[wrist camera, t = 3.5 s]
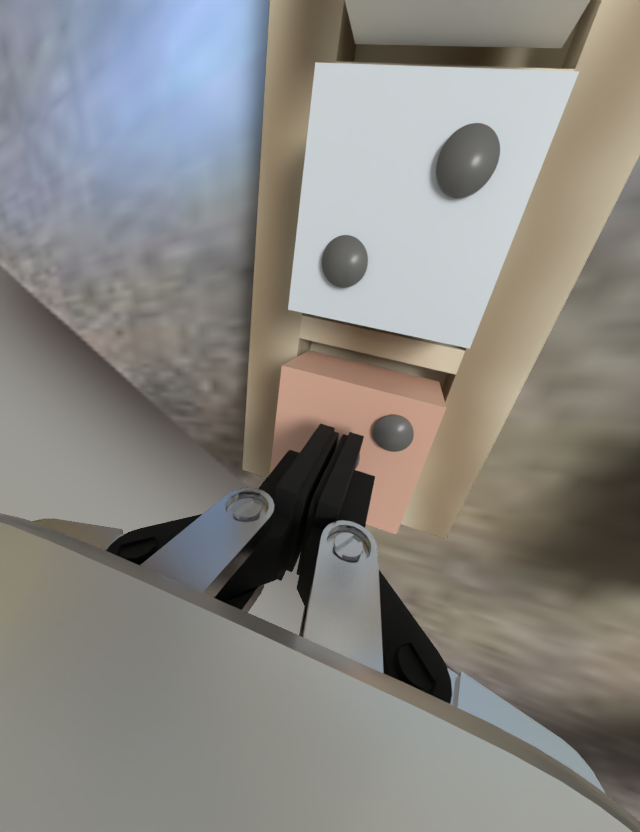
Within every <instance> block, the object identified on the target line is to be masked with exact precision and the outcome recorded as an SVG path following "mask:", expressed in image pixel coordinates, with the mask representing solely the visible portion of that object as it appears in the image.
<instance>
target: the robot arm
mask: <svg viewBox="0 0 640 832" xmlns="http://www.w3.org/2000/svg"><path fill="white" fill-rule="evenodd" d="M334 430H335V428H334V427H331V426H327V425H324V424H320V425H319V426H318V427H317V429H316V430H315V432H314V433H313V435H312V436H311V437H310V439H309V440H308V442H307V443H306V445H305V446H304V447H303V449H302V450H301V452H300V453H299V452H296V451H293V450H289V451H288V452H287V453H286V454H285V455H284V457H283V458H282V459H281V461H280V462H279V463H278V464H277V466H276V467H275V468H274V470H273V471H272V472H271V473H270V475H269V476H268V477H267V478H266V480H265V481H264V482H263V484H262V485H261V486H260V487H259V489H256V488H240V489H237V490H234V491H232V492H230V493H228V494H227V495H225V496H224V497H223V498H222V499H221V500H219V501H218V502H217V503H216V504H214V505H213V506H212V507H211V508H210V509H208V511H206V512H205V513H203V514H201V515H197V516H192V517H188V518H183V519H179V520H175V521H170V522H166V523H162V524H158V525H153V526H149V527H145V528H140V529H137V530H134V531H131V532H128V533H127V534H123V530H122V529H117V528H110V527H104V526H97V525H91V524H84V523H78V522H72V521H65V520H59V519H42V520H36V521H29V520H26V519H22V518H18V517H14V516H9V515H5V514H0V832H640V822H639V821H638V820H637V819H636V818H635V817H633V816H632V815H631V814H630V813H629V812H627V811H626V810H625V809H624V808H622V807H621V806H620V805H619V804H617V803H616V802H615V801H614V800H612V799H611V798H610V797H609V796H607V795H606V793H605V791H604V790H603V788H602V786H601V784H600V783H599V781H598V779H597V778H596V776H595V774H594V772H593V771H592V769H591V768H590V767H589V766H588V765H587V763H586V762H585V761H584V760H583V758H582V757H581V756H580V755H579V754H578V752H577V751H575V750H574V749H573V748H572V747H571V746H570V745H568V744H567V743H566V742H565V741H564V740H562V739H561V738H560V737H558V736H557V735H555V734H554V733H552V732H551V731H549V730H548V729H546V728H545V727H543V726H542V725H540V724H539V723H537V722H536V721H535V720H533V719H532V718H530V717H529V716H527V715H526V714H524V713H523V712H521V711H520V710H518V709H517V708H515V707H514V706H512V705H511V704H509V703H508V702H506V701H505V700H503V699H502V698H500V697H499V696H497V695H496V694H494V693H493V692H491V691H490V690H488V689H487V688H485V687H484V686H482V685H481V684H479V683H478V682H477V681H475V680H474V679H472V678H471V677H469V676H468V675H466V674H465V673H463V672H462V671H461V672H460V673H459V675H457V674H456V673H454V672H453V671H451V670H450V669H448V668H447V666H446V664H445V662H444V661H443V659H442V657H441V656H440V654H439V652H438V651H437V649H436V648H435V647H434V645H433V644H432V642H431V641H430V640H429V638H428V637H427V636H426V634H425V633H424V631H423V630H422V629H421V627H420V626H419V624H418V623H417V622H416V620H415V619H414V618H413V616H412V615H411V613H410V612H409V611H408V609H407V608H406V606H405V605H404V604H403V602H402V601H401V600H400V598H399V597H398V595H397V594H396V593H395V591H394V590H393V589H392V587H391V586H390V584H389V583H388V582H387V580H386V579H385V577H384V576H383V575H382V573H381V572H380V571H379V567H378V549H377V544H376V541H375V539H374V538H373V536H372V534H371V533H370V532H369V531H368V530H367V529H366V528H365V525H366V520H367V515H368V510H369V505H370V500H371V495H372V490H373V485H374V480H375V476H373V475H370V474H367V473H363V472H360V471H357V470H355V468H356V465H357V461H358V457H359V453H360V450H361V446H362V442H363V438H364V436H362V435H359V434H355V433H352V432H349V435H345V434H343V435H342V437H341V439H340V441H339V443H338V445H337V441H338V436H339V433H338V432H334ZM336 445H337V447H336ZM300 553H301V554H300ZM299 555H300V559H299V565H298V569H297V574H298V575H299V580H298V585H297V590H298V592H299V594H300V597H301V599H302V601H303V603H304V605H305V607H304V611H303V616H302V622H301V627H300V633H299V635H297V634H294V633H292V632H290V631H287V630H285V629H283V628H281V627H278V626H276V625H274V624H272V623H269V622H267V621H265V620H263V619H260V618H258V617H256V616H254V615H251V614H249V613H248V611H249V610H250V609H251V607H252V606H253V604H254V603H255V601H256V600H257V598H258V597H259V595H260V594H261V592H262V590H263V588H264V584H266V583H269V582H271V581H274V580H276V579H278V580H282V578H283V576H284V574H285V571H286V570H288V571H290V572H292V571H293V569H294V566H295V564H296V562H297V559H298V557H299Z"/></svg>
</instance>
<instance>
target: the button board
mask: <svg viewBox="0 0 640 832" xmlns="http://www.w3.org/2000/svg"><path fill="white" fill-rule="evenodd" d="M315 62H317V63H346V64H375V65H404V66H433V67H462V68H491V69H521V70H550V71H579V74H578V76H577V79H576V81H575V84H574V86H573V89H572V91H571V94H570V96H569V99H568V101H567V104H566V107H565V109H564V112H563V114H562V117H561V119H560V122H559V124H558V127H557V129H556V132H555V134H554V137H553V139H552V142H551V145H550V147H549V150H548V152H547V155H546V157H545V160H544V162H543V165H542V167H541V170H540V172H539V175H538V177H537V180H536V182H535V185H534V188H533V190H532V193H531V195H530V198H529V200H528V203H527V205H526V208H525V210H524V213H523V215H522V218H521V220H520V223H519V226H518V228H517V231H516V233H515V236H514V238H513V241H512V243H511V246H510V248H509V251H508V253H507V256H506V258H505V261H504V263H503V266H502V269H501V271H500V274H499V276H498V279H497V281H496V284H495V286H494V289H493V291H492V294H491V296H490V299H489V301H488V304H487V307H486V309H485V312H484V314H483V317H482V319H481V322H480V324H479V327H478V329H477V332H476V334H475V337H474V339H473V342H472V345H471V347H470V349H469V348H464V347H460V346H455V345H450V344H446V343H441V342H436V341H432V340H427V339H422V338H418V337H413V336H408V335H404V334H399V333H395V332H390V331H385V330H381V329H376V328H371V327H367V326H362V325H357V324H353V323H348V322H343V321H339V320H334V319H329V318H325V317H320V316H315V315H311V314H306V313H302V312H297V311H292V310H288V305H289V296H290V287H291V278H292V268H293V259H294V250H295V241H296V232H297V223H298V214H299V205H300V196H301V187H302V178H303V169H304V160H305V151H306V142H307V133H308V124H309V115H310V106H311V97H312V88H313V79H314V70H315ZM639 155H640V0H590V2H589V4H588V5H587V7H586V9H585V10H584V12H583V14H582V15H581V17H580V19H579V20H578V22H577V24H576V25H575V27H574V29H573V30H572V32H571V33H570V35H569V37H568V38H567V40H566V42H565V43H564V45H563V47H562V48H518V47H470V46H421V45H373V44H355V41H354V37H353V33H352V28H351V24H350V20H349V16H348V12H347V7H346V3H345V0H270V8H269V25H268V42H267V59H266V76H265V93H264V110H263V127H262V144H261V161H260V178H259V195H258V212H257V229H256V246H255V263H254V280H253V297H252V314H251V331H250V348H249V365H248V382H247V399H246V416H245V433H244V450H243V467H242V470H245V471H248V472H251V473H254V474H257V475H260V476H262V477H265V478H267V477H268V476H269V475H270V467H271V458H272V449H273V440H274V431H275V422H276V413H277V404H278V395H279V386H280V377H281V368H282V365H283V364H285V363H287V362H289V361H291V360H293V359H294V358H296V357H298V356H300V355H302V354H303V353H305V352H307V351H309V350H310V351H314V352H318V353H322V354H326V355H331V356H335V357H339V358H343V359H347V360H351V361H356V362H360V363H364V364H368V365H372V366H376V367H380V368H385V369H389V370H393V371H397V372H401V373H405V374H409V375H414V376H418V377H422V378H426V379H430V380H434V381H438V382H439V383H440V386H441V390H442V393H443V397H444V401H445V404H446V410H445V413H444V415H443V418H442V420H441V423H440V426H439V428H438V431H437V433H436V436H435V438H434V441H433V443H432V446H431V448H430V451H429V453H428V456H427V458H426V461H425V463H424V466H423V469H422V471H421V474H420V476H419V479H418V481H417V484H416V486H415V489H414V491H413V494H412V496H411V499H410V501H409V504H408V507H407V509H406V512H405V514H404V517H403V519H402V522H401V524H402V525H405V526H408V527H411V528H414V529H417V530H420V531H423V532H426V533H429V534H431V535H434V536H437V537H440V538H443V539H446V538H447V536H448V534H449V532H450V530H451V528H452V526H453V524H454V522H455V520H456V518H457V516H458V514H459V512H460V510H461V508H462V506H463V504H464V502H465V500H466V498H467V496H468V494H469V492H470V490H471V488H472V486H473V484H474V482H475V480H476V478H477V476H478V474H479V472H480V470H481V468H482V466H483V464H484V462H485V460H486V458H487V456H488V454H489V452H490V450H491V448H492V446H493V445H494V443H495V441H496V439H497V437H498V435H499V433H500V431H501V429H502V427H503V425H504V423H505V421H506V419H507V417H508V415H509V413H510V411H511V409H512V407H513V405H514V403H515V401H516V399H517V397H518V395H519V393H520V391H521V389H522V387H523V385H524V383H525V381H526V379H527V377H528V375H529V373H530V371H531V369H532V367H533V365H534V363H535V361H536V359H537V357H538V355H539V353H540V351H541V349H542V347H543V345H544V343H545V342H546V340H547V338H548V336H549V334H550V332H551V330H552V328H553V326H554V324H555V322H556V320H557V318H558V316H559V314H560V312H561V310H562V308H563V306H564V304H565V302H566V300H567V298H568V296H569V294H570V292H571V290H572V288H573V286H574V284H575V282H576V280H577V278H578V276H579V274H580V272H581V270H582V268H583V266H584V264H585V262H586V260H587V258H588V256H589V254H590V252H591V250H592V248H593V246H594V244H595V242H596V240H597V239H598V237H599V235H600V233H601V231H602V229H603V227H604V225H605V223H606V221H607V219H608V217H609V215H610V213H611V211H612V209H613V207H614V205H615V203H616V201H617V199H618V197H619V195H620V193H621V191H622V189H623V187H624V185H625V183H626V181H627V179H628V177H629V175H630V173H631V171H632V169H633V167H634V165H635V163H636V161H637V159H638V157H639Z"/></svg>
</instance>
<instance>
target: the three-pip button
mask: <svg viewBox="0 0 640 832" xmlns="http://www.w3.org/2000/svg"><path fill="white" fill-rule="evenodd" d="M445 410H446V404H445V401H444V397H443V393H442V390H441V386H440V383H439V382H438V381H434V380H430V379H426V378H422V377H418V376H414V375H409V374H405V373H401V372H397V371H393V370H389V369H385V368H380V367H376V366H372V365H368V364H364V363H360V362H356V361H351V360H347V359H343V358H339V357H335V356H331V355H326V354H322V353H318V352H314V351H310V350H309V351H307V352H305V353H303V354H302V355H300V356H298V357H296V358H294V359H293V360H291V361H289V362H287V363H285V364H283V365H282V368H281V377H280V386H279V395H278V404H277V413H276V422H275V431H274V440H273V449H272V458H271V467H270V473H271V472H272V471H273V470H274V468H275V467H276V466H277V464H278V463H279V462H280V461H281V459H282V458H283V457H284V455H285V454H286V453H287V452H288V451H289V450H293V451H296V452H299V453H300V452H301V450H302V449H303V447H304V446H305V445H306V443H307V442H308V440H309V439H310V437H311V436H312V435H313V433H314V432H315V430H316V429H317V427H318V426H319V425H320V424H324V425H327V426H331V427H334V428H335V430H334V432H338V433H339V436H338V441H337V445H338V443H339V441H340V439H341V437H342V435H343V434H345V435H349V432H352V433H355V434H359V435H362V436H364V438H363V442H362V446H361V450H360V453H359V457H358V461H357V465H356V468H355V470H357V471H360V472H363V473H367V474H370V475H373V476H375V480H374V485H373V490H372V495H371V500H370V505H369V510H368V515H367V520H366V524H367V525H370V526H373V527H376V528H379V529H381V530H384V531H387V532H390V533H393V534H397V532H398V529H399V527H400V524H401V522H402V519H403V517H404V514H405V512H406V509H407V507H408V504H409V501H410V499H411V496H412V494H413V491H414V489H415V486H416V484H417V481H418V479H419V476H420V474H421V471H422V469H423V466H424V463H425V461H426V458H427V456H428V453H429V451H430V448H431V446H432V443H433V441H434V438H435V436H436V433H437V431H438V428H439V426H440V423H441V420H442V418H443V415H444V413H445ZM337 445H336V447H337Z"/></svg>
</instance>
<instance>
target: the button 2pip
mask: <svg viewBox="0 0 640 832" xmlns="http://www.w3.org/2000/svg"><path fill="white" fill-rule="evenodd" d="M578 74H579V71H550V70H521V69H491V68H462V67H433V66H404V65H375V64H346V63H317V62H315V70H314V79H313V88H312V97H311V106H310V115H309V124H308V133H307V142H306V151H305V160H304V169H303V178H302V187H301V196H300V205H299V214H298V223H297V232H296V241H295V250H294V259H293V268H292V278H291V287H290V296H289V305H288V310H292V311H297V312H302V313H306V314H311V315H315V316H320V317H325V318H329V319H334V320H339V321H343V322H348V323H353V324H357V325H362V326H367V327H371V328H376V329H381V330H385V331H390V332H395V333H399V334H404V335H408V336H413V337H418V338H422V339H427V340H432V341H436V342H441V343H446V344H450V345H455V346H460V347H464V348H469V349H470V347H471V345H472V342H473V339H474V337H475V334H476V332H477V329H478V327H479V324H480V322H481V319H482V317H483V314H484V312H485V309H486V307H487V304H488V301H489V299H490V296H491V294H492V291H493V289H494V286H495V284H496V281H497V279H498V276H499V274H500V271H501V269H502V266H503V263H504V261H505V258H506V256H507V253H508V251H509V248H510V246H511V243H512V241H513V238H514V236H515V233H516V231H517V228H518V226H519V223H520V220H521V218H522V215H523V213H524V210H525V208H526V205H527V203H528V200H529V198H530V195H531V193H532V190H533V188H534V185H535V182H536V180H537V177H538V175H539V172H540V170H541V167H542V165H543V162H544V160H545V157H546V155H547V152H548V150H549V147H550V145H551V142H552V139H553V137H554V134H555V132H556V129H557V127H558V124H559V122H560V119H561V117H562V114H563V112H564V109H565V107H566V104H567V101H568V99H569V96H570V94H571V91H572V89H573V86H574V84H575V81H576V79H577V76H578Z"/></svg>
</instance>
